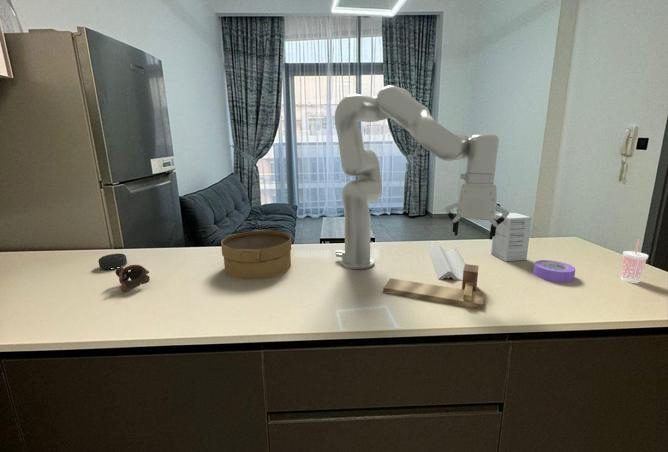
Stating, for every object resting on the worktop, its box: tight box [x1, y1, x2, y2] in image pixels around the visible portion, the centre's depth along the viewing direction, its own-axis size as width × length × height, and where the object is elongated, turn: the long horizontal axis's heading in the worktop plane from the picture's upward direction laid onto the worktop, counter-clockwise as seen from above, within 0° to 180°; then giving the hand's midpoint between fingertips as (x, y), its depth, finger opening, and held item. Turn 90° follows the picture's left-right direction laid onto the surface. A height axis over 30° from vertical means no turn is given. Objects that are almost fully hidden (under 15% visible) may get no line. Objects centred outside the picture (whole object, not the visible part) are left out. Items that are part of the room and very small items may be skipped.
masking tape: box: [532, 259, 576, 283], centre depth 113 cm, size 12×12×4 cm
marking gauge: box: [461, 263, 480, 301], centre depth 99 cm, size 4×16×7 cm, turn 155°
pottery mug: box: [114, 264, 151, 293], centre depth 109 cm, size 12×10×8 cm
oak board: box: [382, 277, 485, 310], centre depth 101 cm, size 28×8×2 cm, turn 65°
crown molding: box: [427, 243, 466, 281], centre depth 126 cm, size 31×12×4 cm, turn 171°
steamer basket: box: [220, 230, 292, 281], centre depth 124 cm, size 25×25×11 cm
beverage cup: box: [620, 238, 649, 284], centre depth 108 cm, size 6×6×14 cm
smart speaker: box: [97, 253, 128, 270], centre depth 128 cm, size 9×9×4 cm
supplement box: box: [490, 212, 532, 262], centre depth 130 cm, size 10×9×17 cm
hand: (473, 236), depth 100 cm, fingers open, 9 cm apart
